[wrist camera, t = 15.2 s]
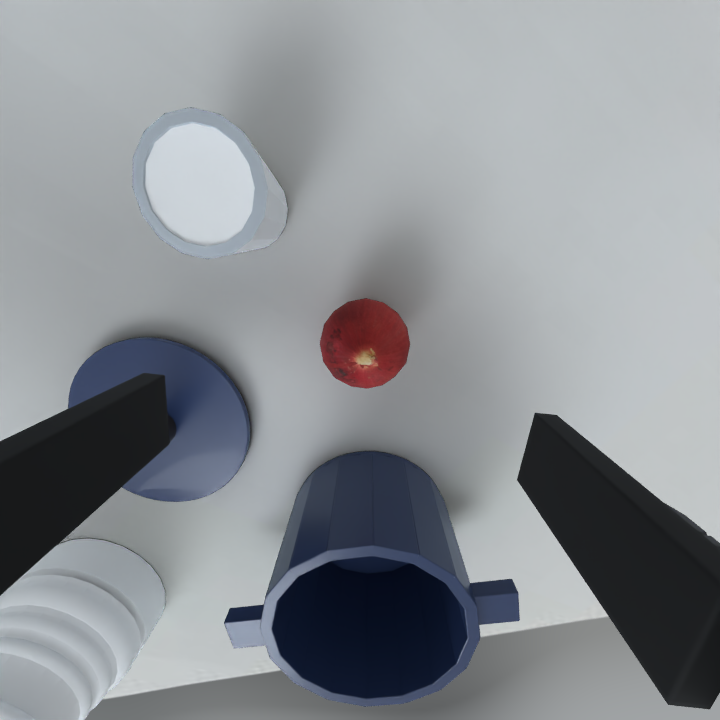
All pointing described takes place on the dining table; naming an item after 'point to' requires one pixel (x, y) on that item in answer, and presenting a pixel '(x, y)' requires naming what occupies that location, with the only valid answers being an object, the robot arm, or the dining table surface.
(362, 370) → the onion
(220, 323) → the dining table surface
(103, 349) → the lid
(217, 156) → the white tapered cylinder
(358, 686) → the pot
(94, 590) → the honey pot
